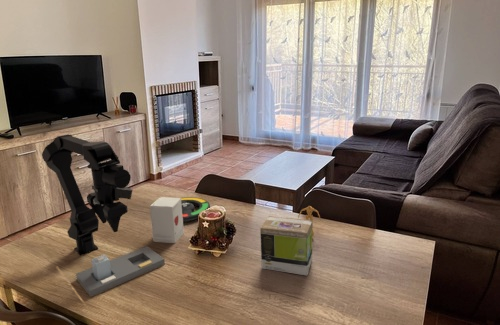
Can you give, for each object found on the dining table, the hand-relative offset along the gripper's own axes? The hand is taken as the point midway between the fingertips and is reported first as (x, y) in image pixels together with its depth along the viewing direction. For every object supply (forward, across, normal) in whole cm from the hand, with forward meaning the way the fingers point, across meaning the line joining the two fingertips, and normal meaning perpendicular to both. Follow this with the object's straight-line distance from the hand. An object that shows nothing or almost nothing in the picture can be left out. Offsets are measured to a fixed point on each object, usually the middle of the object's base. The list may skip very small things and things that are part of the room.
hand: (110, 227), depth 118 cm
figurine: (+13, -35, -60) cm, 71 cm away
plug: (+12, -8, +7) cm, 16 cm away
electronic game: (+14, +18, -39) cm, 45 cm away
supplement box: (+13, +2, -22) cm, 26 cm away
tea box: (+13, -42, -40) cm, 60 cm away
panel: (+13, -8, +1) cm, 15 cm away
